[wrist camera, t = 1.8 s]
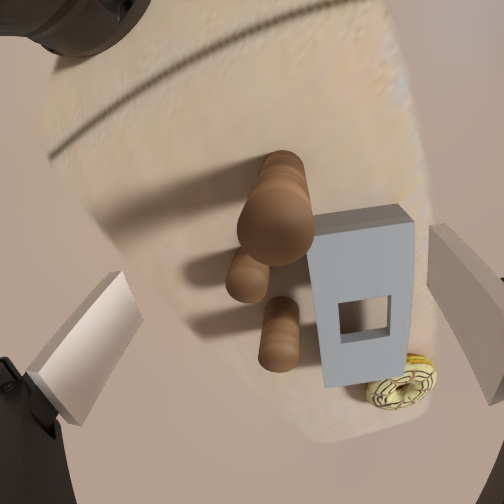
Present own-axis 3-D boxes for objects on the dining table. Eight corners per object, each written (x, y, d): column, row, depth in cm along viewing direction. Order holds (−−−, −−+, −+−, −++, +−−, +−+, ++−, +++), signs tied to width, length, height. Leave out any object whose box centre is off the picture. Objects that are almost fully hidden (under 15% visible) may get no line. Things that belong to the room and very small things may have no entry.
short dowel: (230, 246, 34) (220, 270, 30) (267, 241, 33) (263, 264, 29) (238, 278, 36) (231, 305, 31) (274, 274, 35) (271, 300, 30)
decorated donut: (357, 397, 43) (359, 417, 40) (373, 349, 38) (378, 369, 35) (417, 394, 42) (422, 412, 39) (440, 347, 37) (448, 365, 34)
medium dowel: (261, 298, 36) (254, 346, 29) (296, 294, 36) (296, 342, 29) (268, 325, 38) (262, 373, 31) (301, 321, 37) (301, 370, 30)
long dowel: (258, 154, 29) (228, 201, 16) (300, 147, 28) (308, 188, 15) (266, 194, 31) (246, 270, 18) (307, 187, 30) (319, 260, 17)
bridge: (302, 217, 32) (303, 237, 27) (397, 203, 30) (414, 221, 25) (322, 359, 40) (324, 388, 35) (395, 348, 38) (403, 375, 33)
